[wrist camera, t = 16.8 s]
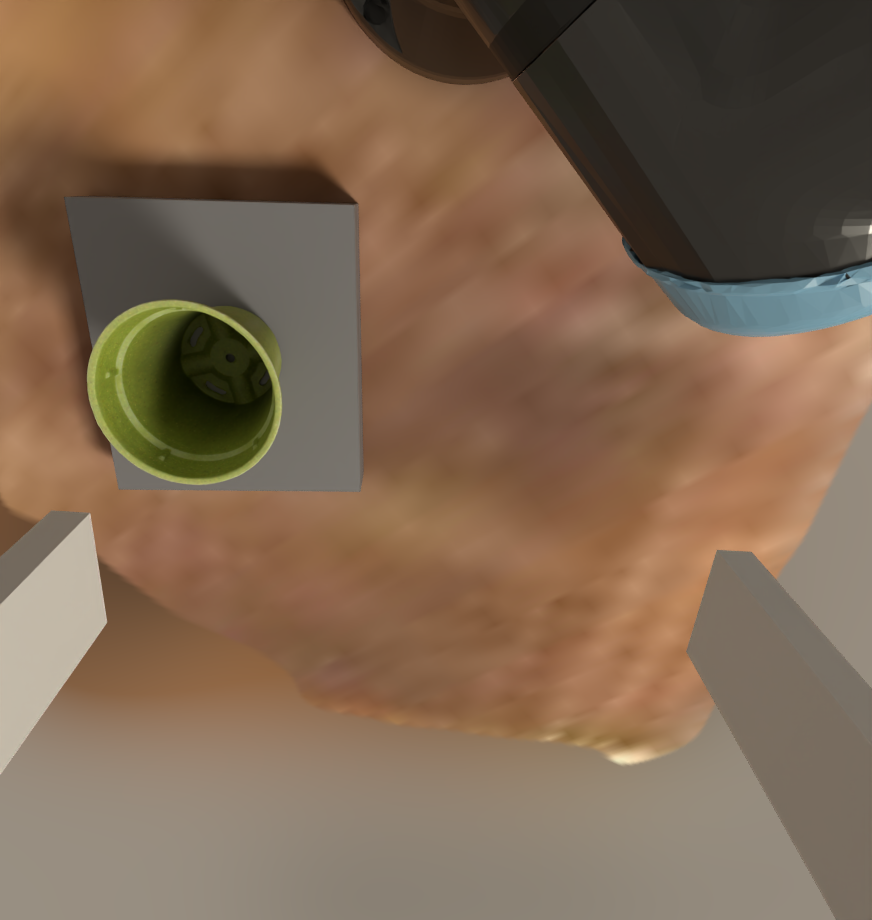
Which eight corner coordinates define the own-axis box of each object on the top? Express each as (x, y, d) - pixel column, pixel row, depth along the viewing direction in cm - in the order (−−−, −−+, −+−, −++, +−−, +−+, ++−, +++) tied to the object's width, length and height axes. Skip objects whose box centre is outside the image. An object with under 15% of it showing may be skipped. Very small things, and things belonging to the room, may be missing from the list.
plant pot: (129, 382, 40) (59, 432, 32) (187, 244, 37) (125, 261, 29) (269, 451, 42) (235, 514, 34) (334, 326, 39) (314, 363, 31)
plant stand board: (89, 196, 38) (64, 196, 35) (358, 203, 39) (354, 205, 36) (136, 470, 45) (118, 489, 43) (363, 473, 46) (360, 491, 43)
